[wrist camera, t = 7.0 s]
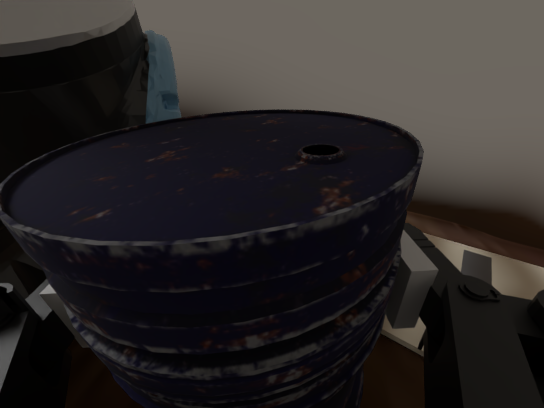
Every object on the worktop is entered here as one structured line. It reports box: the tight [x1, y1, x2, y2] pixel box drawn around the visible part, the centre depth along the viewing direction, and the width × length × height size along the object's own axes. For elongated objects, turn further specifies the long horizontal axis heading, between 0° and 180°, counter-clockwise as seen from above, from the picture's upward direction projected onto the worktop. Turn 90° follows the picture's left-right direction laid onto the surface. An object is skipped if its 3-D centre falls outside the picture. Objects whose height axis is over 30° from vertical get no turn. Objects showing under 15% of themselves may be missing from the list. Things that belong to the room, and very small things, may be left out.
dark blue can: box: [0, 110, 424, 408], centre depth 10 cm, size 10×10×15 cm
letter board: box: [381, 233, 544, 357], centre depth 24 cm, size 22×16×1 cm
